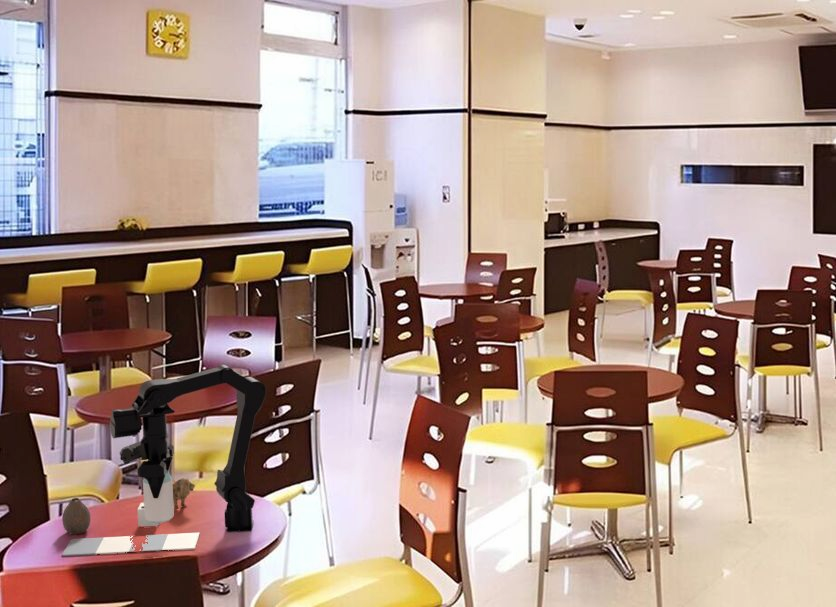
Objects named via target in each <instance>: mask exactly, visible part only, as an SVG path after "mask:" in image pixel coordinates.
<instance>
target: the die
mask: <svg viewBox="0 0 836 607" xmlns="http://www.w3.org/2000/svg"><path fill="white" fill-rule="evenodd" d="M137 522H138V527H139V526H158V525H159V526H160V524H159V523H152V522H149V521H147V520H146V519H145V511H144V502H140V504H139V506H138V508H137ZM159 526H158V527H159Z"/></svg>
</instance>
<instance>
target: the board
mask: <svg viewBox="0 0 836 607" xmlns="http://www.w3.org/2000/svg"><path fill="white" fill-rule="evenodd" d="M200 534H201V532H185V533H184V532H182V533H165V534H145V535H146V538H147V539H148V540H147V539H146V540H145V542H148V544H147V543H145V544H143V543H142V547H143V550H142V551H156V550H157V551H156V552H161V551H160V550H168V551H167V552H170V551H169V550H173V552H174V550H175V551H189V550H190V551H192V550H196V547H197V544H198V541H199V537H200ZM130 536H131V537H130ZM133 536H134V535H126V536H105V537H104V536H102V537H87V538H86V537H85V538H83V537H82V538H71V540H70V541H69V542H68V544H67V546H66V548H65V549H64V551H63V552H62V554H61V557H76V556H79V557H80V556H96V555H97V554H100V555H117V553H118V554H128V553H127V552H132V551H134V550H135V548H134V547H136V545H135V546H134V547H133V544H134V543H133V542H132V540H133V539H132V540H131V541H130V538H132V537H133ZM147 536H148V537H147ZM131 542H132V543H131ZM132 547H133V549H132ZM139 551H141V549H140V550H139ZM125 552H126V553H125Z"/></svg>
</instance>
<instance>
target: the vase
mask: <svg viewBox="0 0 836 607" xmlns="http://www.w3.org/2000/svg"><path fill="white" fill-rule="evenodd" d="M61 520H62V525H63V528H64V530H65V531H66V532H67V533H69V534H70V535H73V536H74V535H81V534H83V533H85V532H86V531H87V530H88V529H89V527H90V525H91V512H90V510H89V509H88V507H87V506H86V504H84V503H83V501H82V500H81V498H79V497H73V498H71V499H69V502H68V504H67V506H65V508H64V510H63V512H62V517H61Z"/></svg>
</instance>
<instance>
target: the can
mask: <svg viewBox="0 0 836 607" xmlns="http://www.w3.org/2000/svg"><path fill="white" fill-rule="evenodd" d="M166 471H167V472H166V475H165V478H164V481H163V484H162V488H161V491H160V494H159V497H158V498H153V495H152V492H151V489H150V486H149V483H148V481H147V480H146V479H145V478H143V480H142V490H143V491H142V492H143V503H144V511H145V519H146V520H147V521H149V522H152V523H160V524H162V523H166V522H168V521H170V520H171V519H173V517H174V516H175V510H174V501H173V486H172V479H173V477H172V476H171V474H170V471H169V470H166Z"/></svg>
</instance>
